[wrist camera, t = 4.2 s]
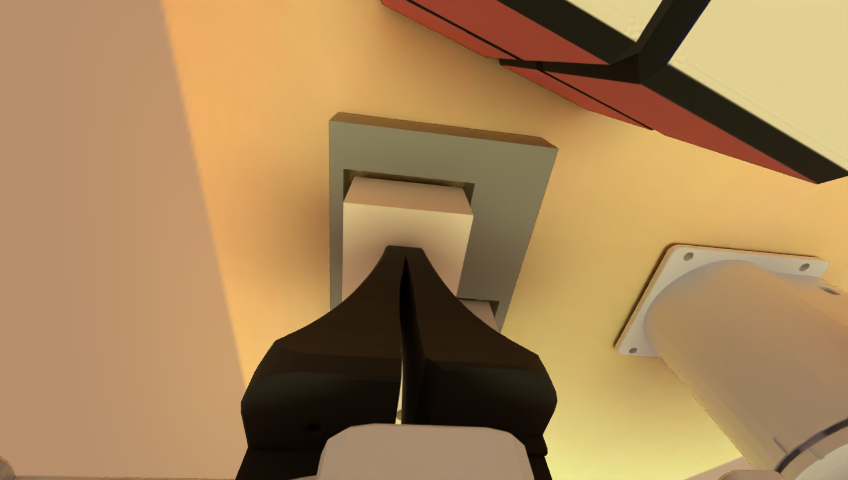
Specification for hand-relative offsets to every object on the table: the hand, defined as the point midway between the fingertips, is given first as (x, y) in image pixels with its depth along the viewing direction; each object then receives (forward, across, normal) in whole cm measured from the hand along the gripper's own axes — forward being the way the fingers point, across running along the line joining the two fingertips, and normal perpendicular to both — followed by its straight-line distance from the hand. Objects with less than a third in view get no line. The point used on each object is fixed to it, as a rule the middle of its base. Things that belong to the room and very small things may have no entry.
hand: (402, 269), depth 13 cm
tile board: (+5, -1, +6) cm, 8 cm away
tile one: (+3, 0, 0) cm, 3 cm away
